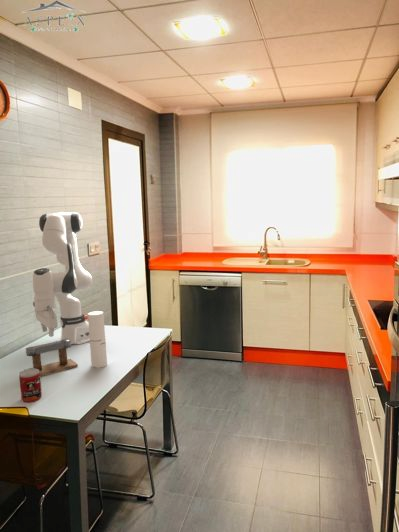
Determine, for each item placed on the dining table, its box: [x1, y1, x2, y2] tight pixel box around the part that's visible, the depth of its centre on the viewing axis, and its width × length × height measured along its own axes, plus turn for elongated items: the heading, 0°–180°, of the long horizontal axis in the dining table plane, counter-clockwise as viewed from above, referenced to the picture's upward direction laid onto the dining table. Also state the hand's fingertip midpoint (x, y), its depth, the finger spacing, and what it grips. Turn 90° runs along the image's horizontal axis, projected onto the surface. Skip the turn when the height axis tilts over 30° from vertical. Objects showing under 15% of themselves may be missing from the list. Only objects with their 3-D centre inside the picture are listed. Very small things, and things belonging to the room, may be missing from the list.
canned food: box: [18, 367, 43, 403], centre depth 179 cm, size 8×8×11 cm
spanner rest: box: [24, 348, 79, 377], centre depth 209 cm, size 22×10×9 cm, turn 126°
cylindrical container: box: [87, 310, 108, 368], centre depth 212 cm, size 7×7×25 cm
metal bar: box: [25, 339, 72, 357], centre depth 208 cm, size 20×4×3 cm, turn 126°
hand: (48, 333), depth 208 cm, fingers open, 8 cm apart
